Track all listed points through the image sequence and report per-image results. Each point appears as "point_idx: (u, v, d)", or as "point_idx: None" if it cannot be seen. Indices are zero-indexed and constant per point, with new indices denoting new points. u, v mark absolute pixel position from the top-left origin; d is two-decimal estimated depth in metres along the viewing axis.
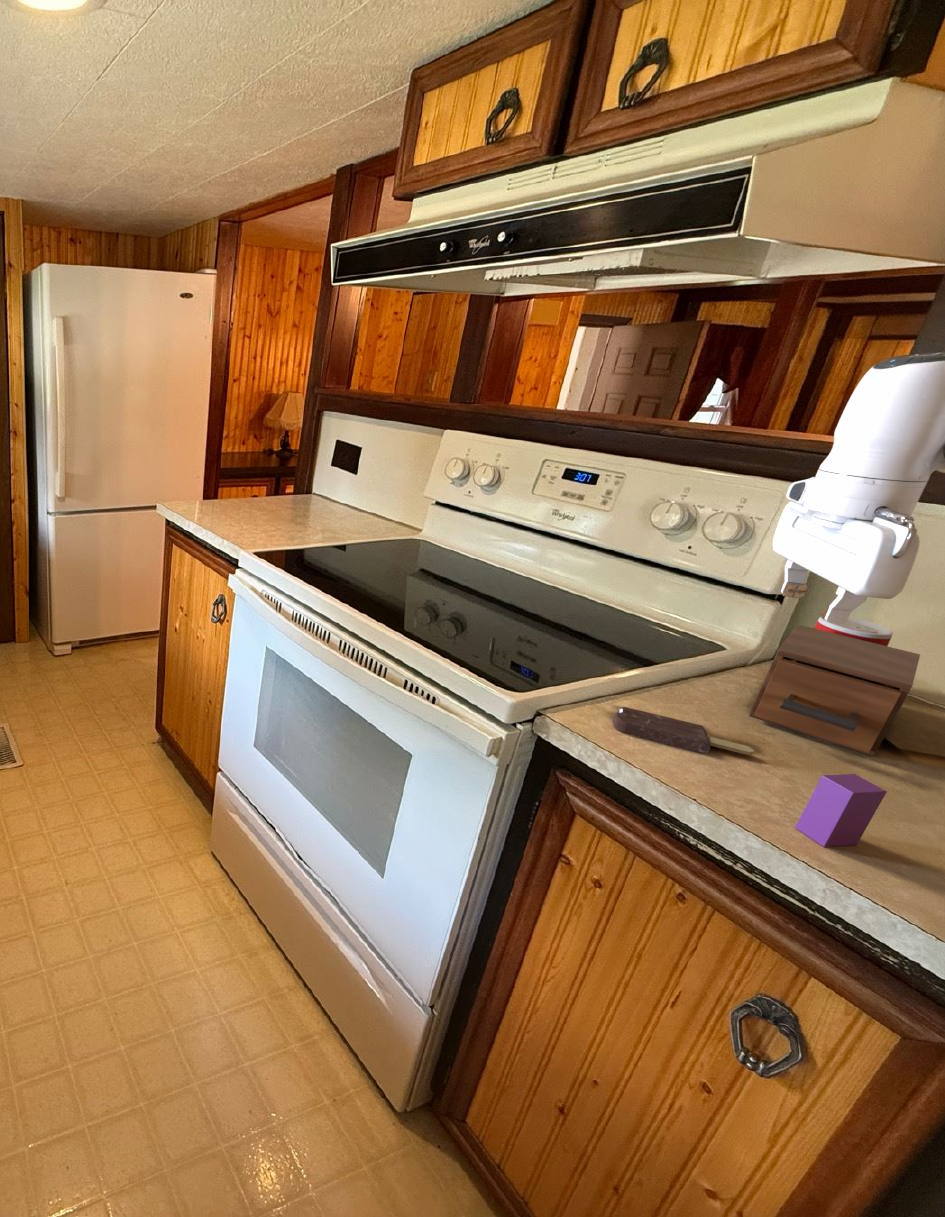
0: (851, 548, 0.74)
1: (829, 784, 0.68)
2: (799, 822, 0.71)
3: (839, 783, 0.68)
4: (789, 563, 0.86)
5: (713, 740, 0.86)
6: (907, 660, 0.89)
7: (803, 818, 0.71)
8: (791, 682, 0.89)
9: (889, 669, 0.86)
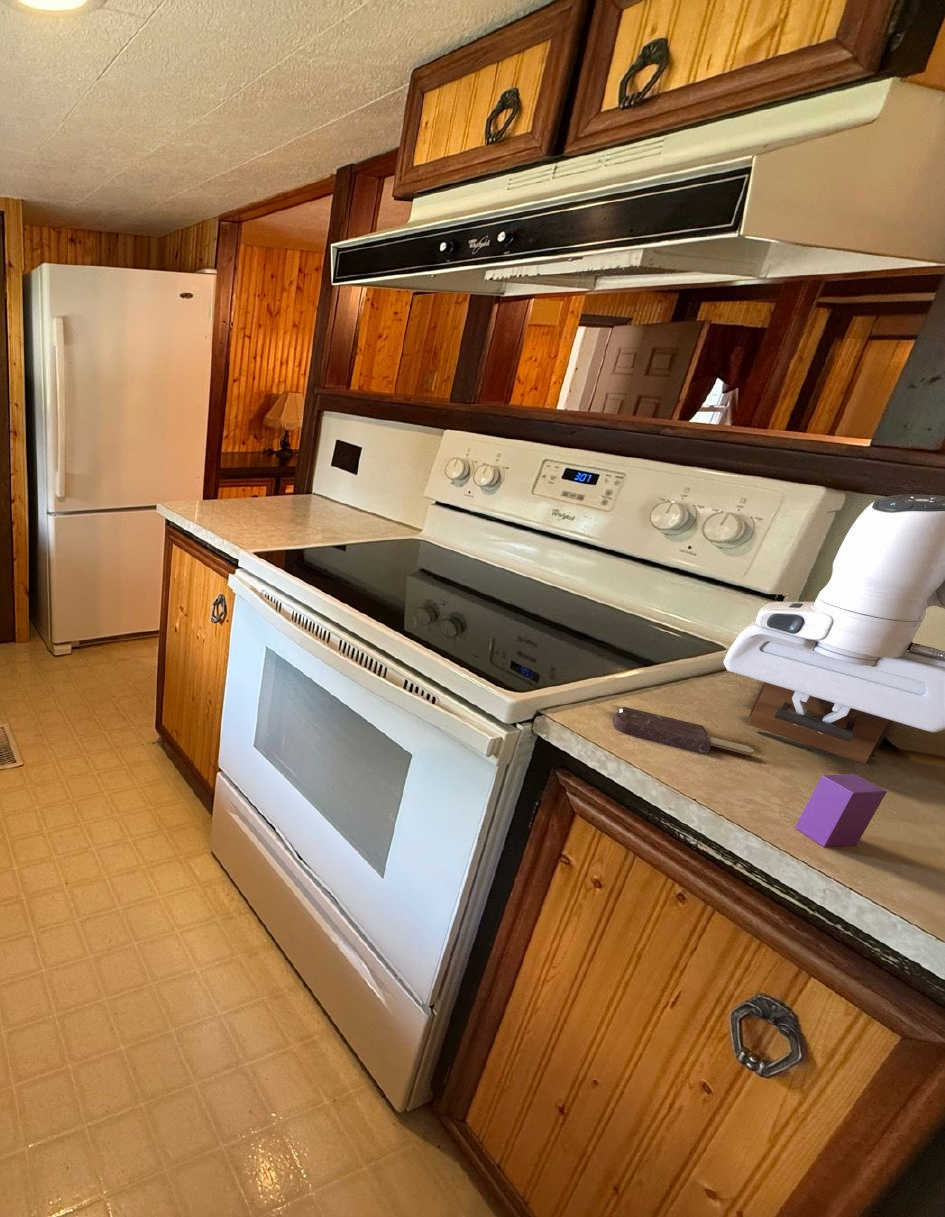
0: (902, 686, 0.76)
1: (829, 784, 0.68)
2: (799, 822, 0.71)
3: (839, 783, 0.68)
4: (802, 696, 0.83)
5: (713, 740, 0.86)
6: None
7: (803, 818, 0.71)
8: (786, 691, 0.86)
9: None
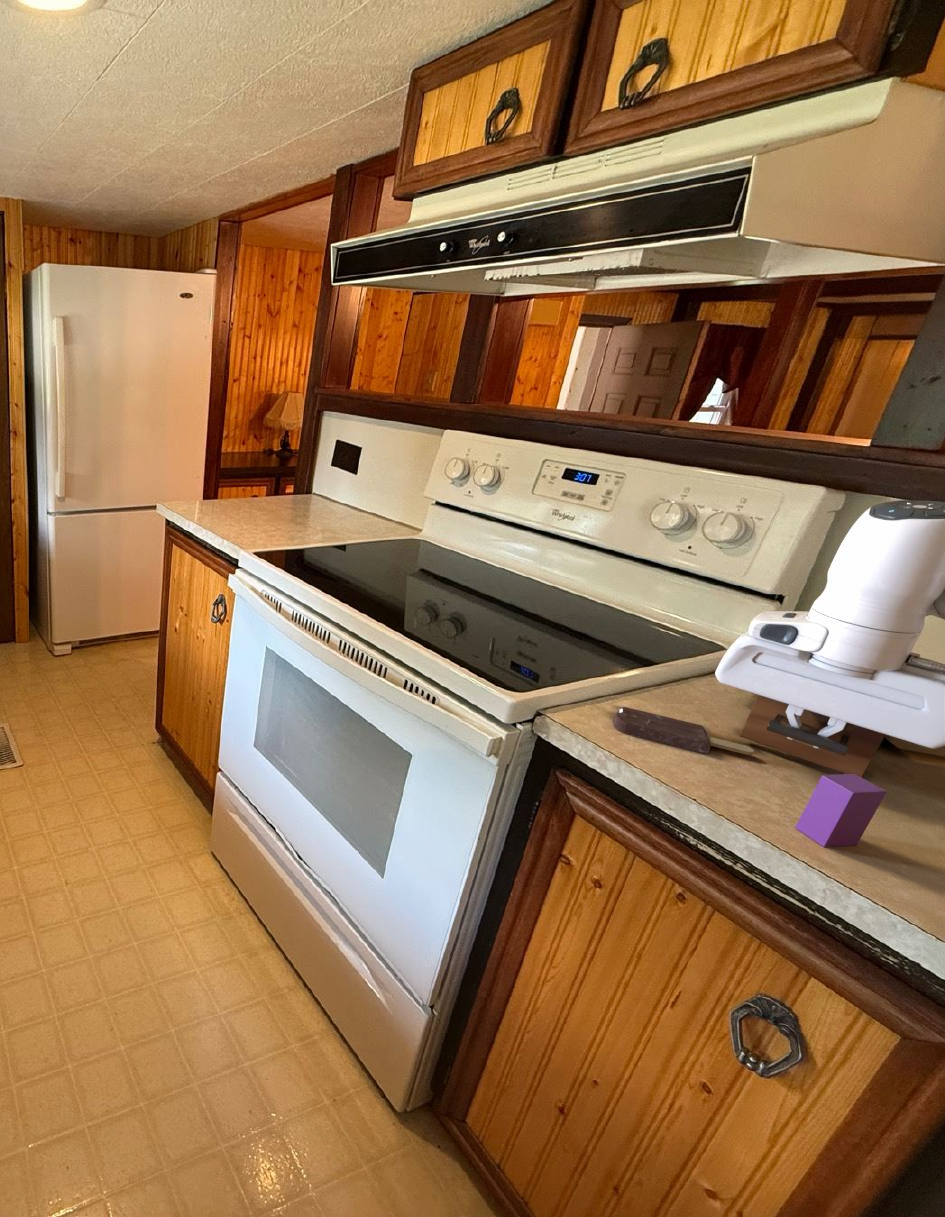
0: (899, 700, 0.73)
1: (829, 784, 0.68)
2: (799, 822, 0.71)
3: (839, 783, 0.68)
4: (796, 710, 0.80)
5: (713, 740, 0.86)
6: None
7: (803, 818, 0.71)
8: (778, 702, 0.83)
9: None
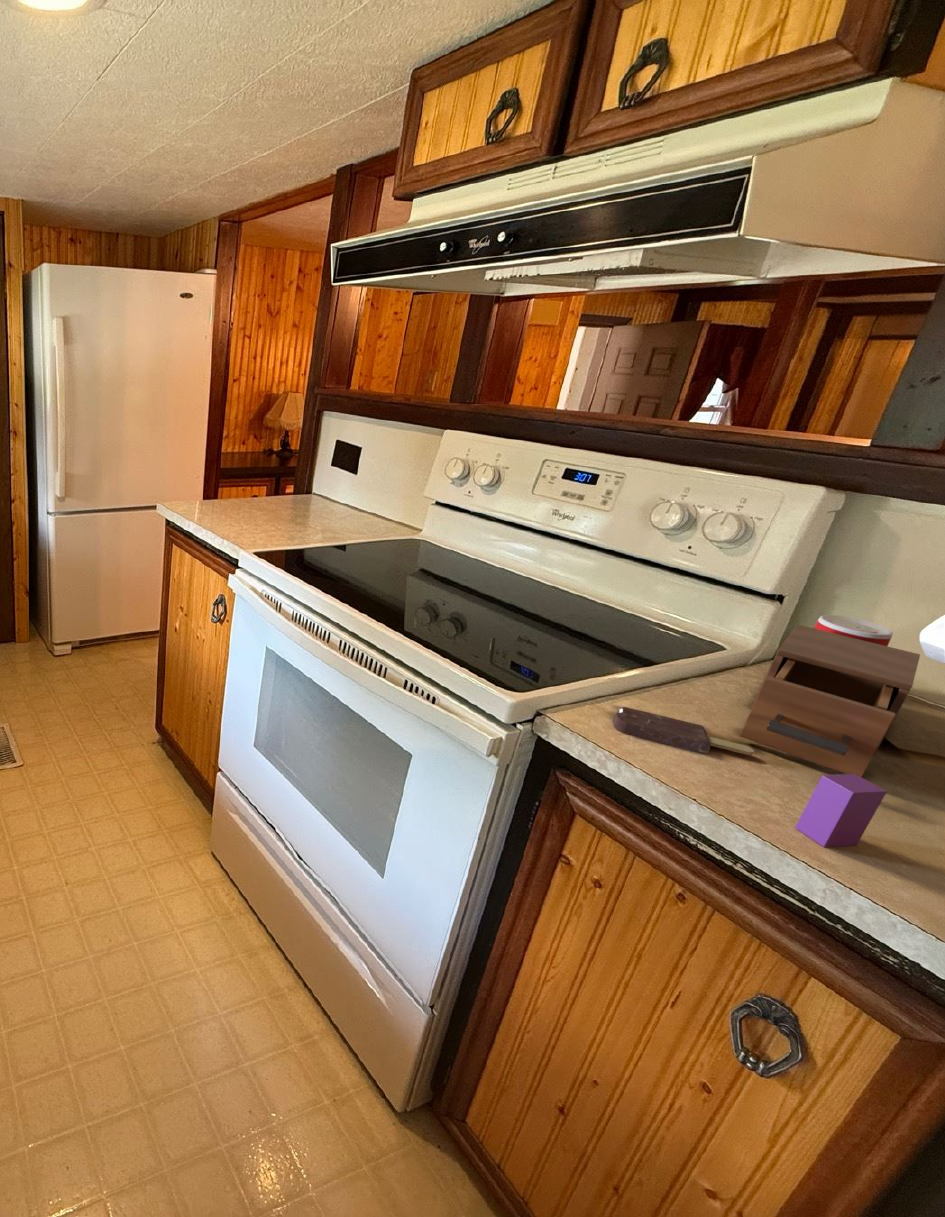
0: None
1: (829, 784, 0.68)
2: (799, 822, 0.71)
3: (839, 783, 0.68)
4: None
5: (713, 740, 0.86)
6: (907, 660, 0.89)
7: (803, 818, 0.71)
8: (778, 702, 0.83)
9: (889, 669, 0.86)
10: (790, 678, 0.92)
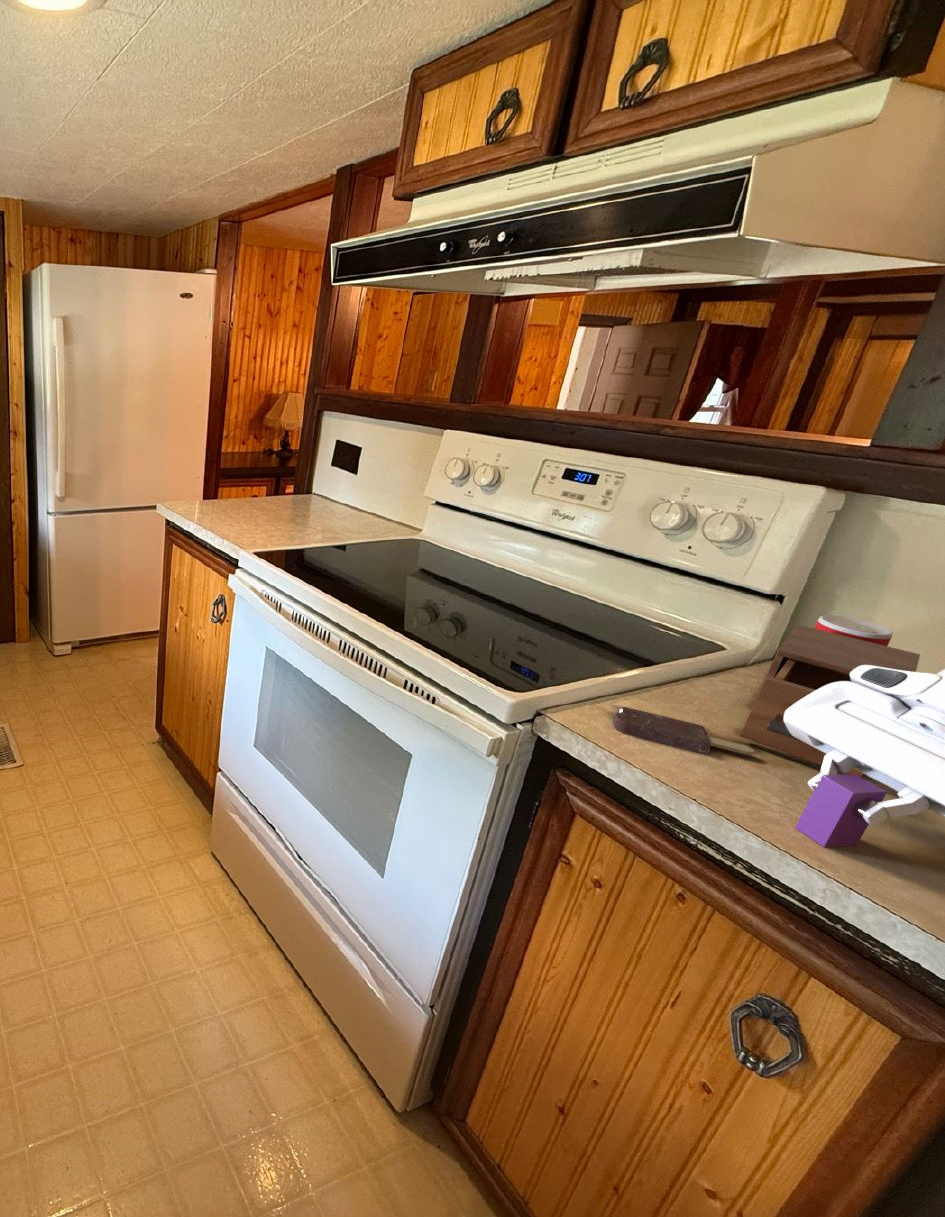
0: None
1: (829, 784, 0.68)
2: (799, 822, 0.71)
3: (839, 784, 0.68)
4: (837, 756, 0.70)
5: (713, 740, 0.86)
6: (907, 660, 0.89)
7: (803, 818, 0.71)
8: (778, 702, 0.83)
9: None
10: (790, 678, 0.92)
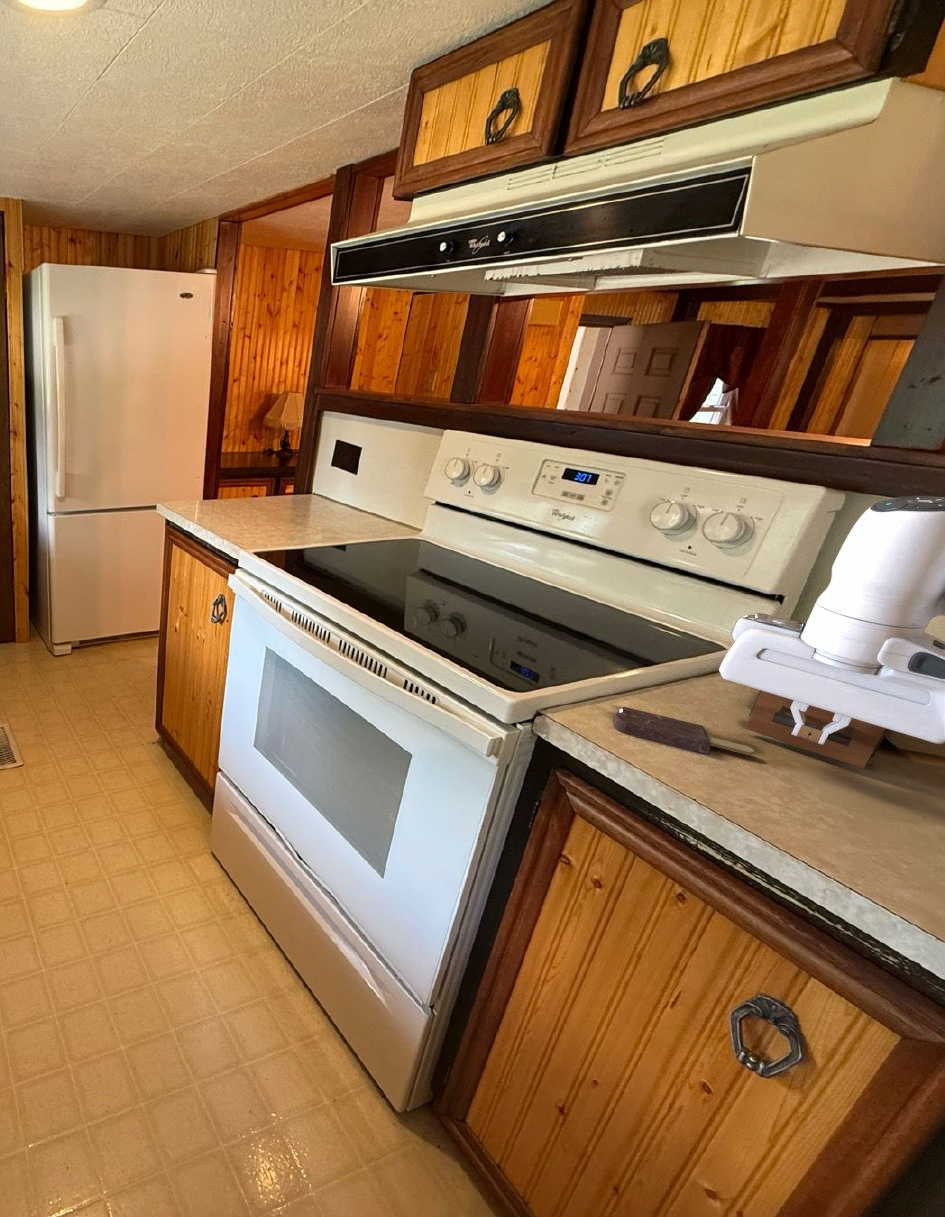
0: None
1: None
2: None
3: None
4: None
5: (714, 740, 0.86)
6: None
7: None
8: None
9: None
10: None
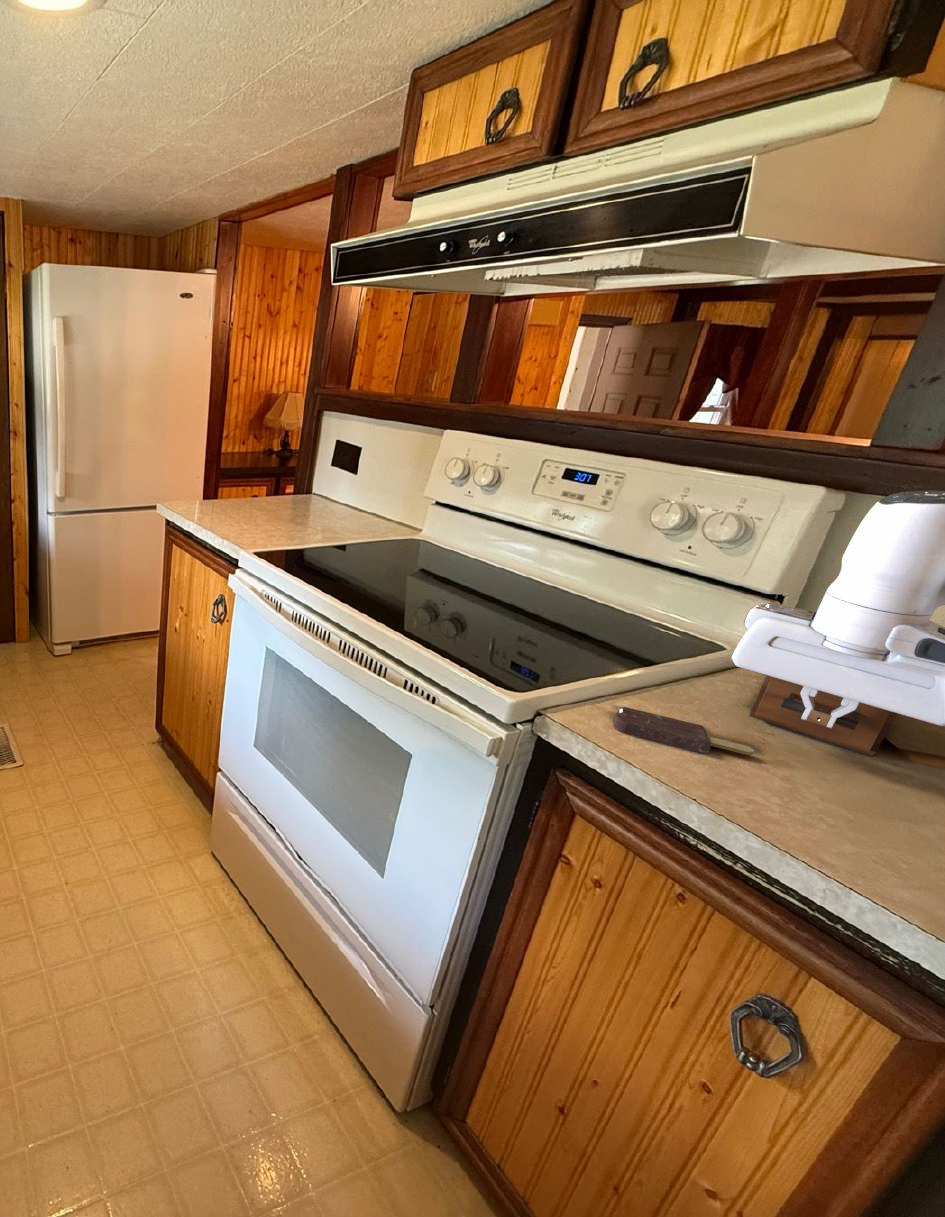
0: None
1: None
2: None
3: None
4: None
5: (713, 740, 0.86)
6: None
7: None
8: None
9: None
10: None
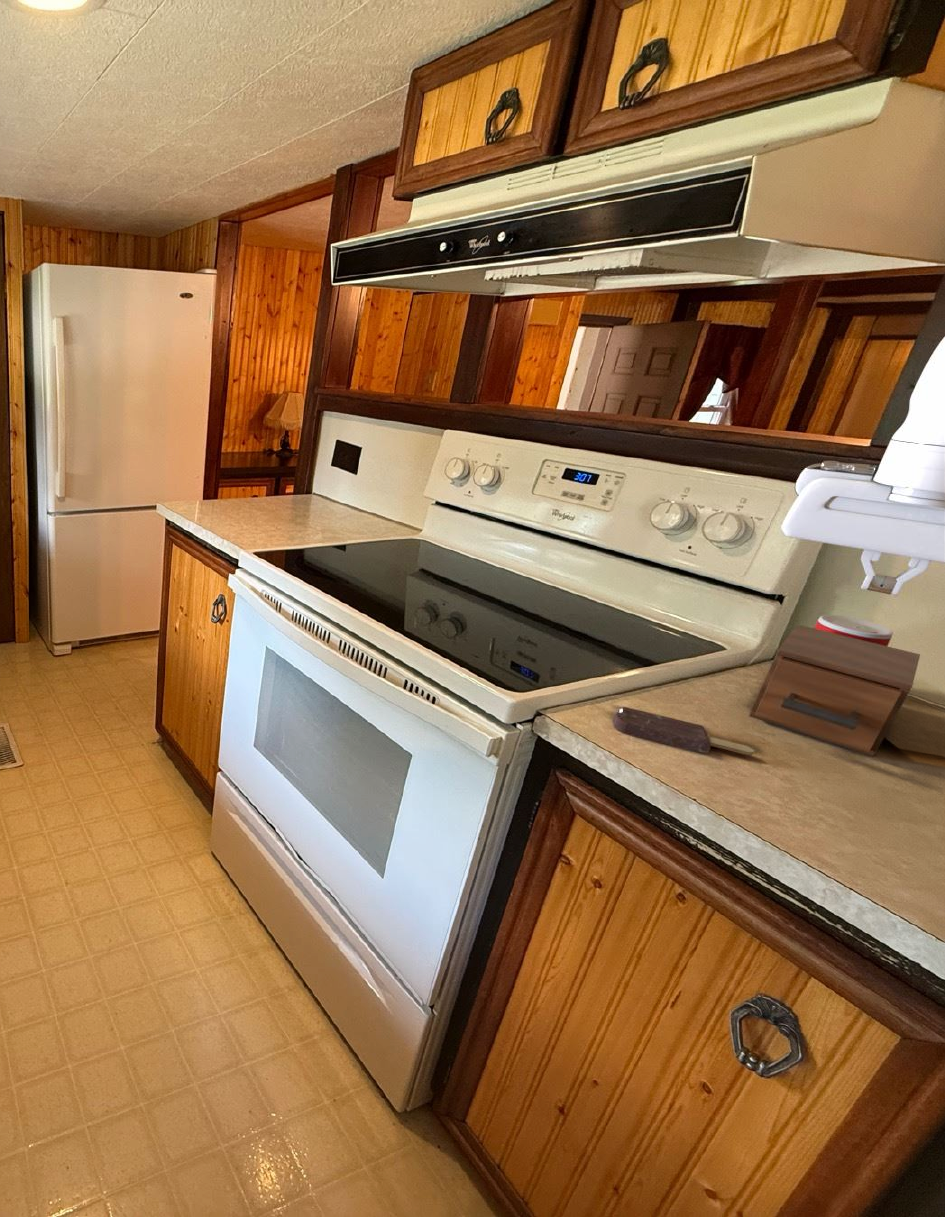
0: None
1: None
2: None
3: None
4: None
5: (713, 740, 0.86)
6: (907, 660, 0.89)
7: None
8: (792, 681, 0.89)
9: (889, 669, 0.86)
10: None
